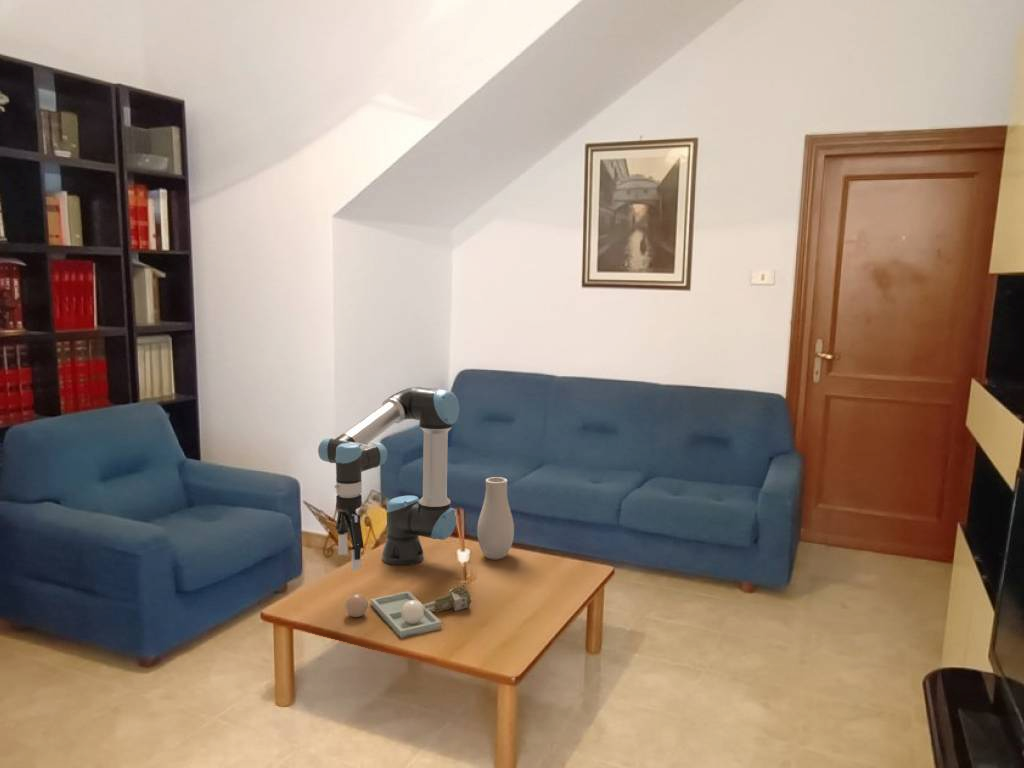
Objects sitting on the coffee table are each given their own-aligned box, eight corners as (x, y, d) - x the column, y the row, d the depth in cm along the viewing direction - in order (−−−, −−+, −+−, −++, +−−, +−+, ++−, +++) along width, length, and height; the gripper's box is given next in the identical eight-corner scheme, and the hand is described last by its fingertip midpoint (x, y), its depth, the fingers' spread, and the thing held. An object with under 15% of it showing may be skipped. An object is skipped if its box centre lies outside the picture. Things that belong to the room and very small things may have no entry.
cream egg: (418, 615, 238) (418, 594, 237) (427, 624, 232) (427, 602, 231) (397, 620, 235) (397, 598, 234) (406, 629, 229) (406, 607, 228)
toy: (428, 609, 237) (473, 594, 242) (421, 593, 242) (465, 579, 247) (429, 625, 241) (473, 610, 246) (421, 610, 246) (465, 595, 251)
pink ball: (363, 609, 243) (363, 588, 242) (371, 618, 237) (371, 596, 236) (341, 614, 240) (341, 592, 239) (349, 623, 234) (348, 601, 233)
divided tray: (408, 597, 253) (408, 591, 252) (441, 628, 231) (441, 621, 231) (370, 605, 246) (370, 599, 246) (400, 638, 225) (400, 631, 225)
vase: (500, 566, 280) (501, 487, 275) (469, 558, 287) (470, 480, 283) (520, 555, 291) (522, 478, 287) (490, 547, 299) (491, 472, 294)
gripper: (325, 485, 243) (326, 550, 246) (349, 507, 221) (349, 577, 224) (348, 482, 246) (349, 546, 249) (374, 503, 225) (374, 573, 228)
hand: (349, 561), depth 237 cm, fingers open, 13 cm apart
